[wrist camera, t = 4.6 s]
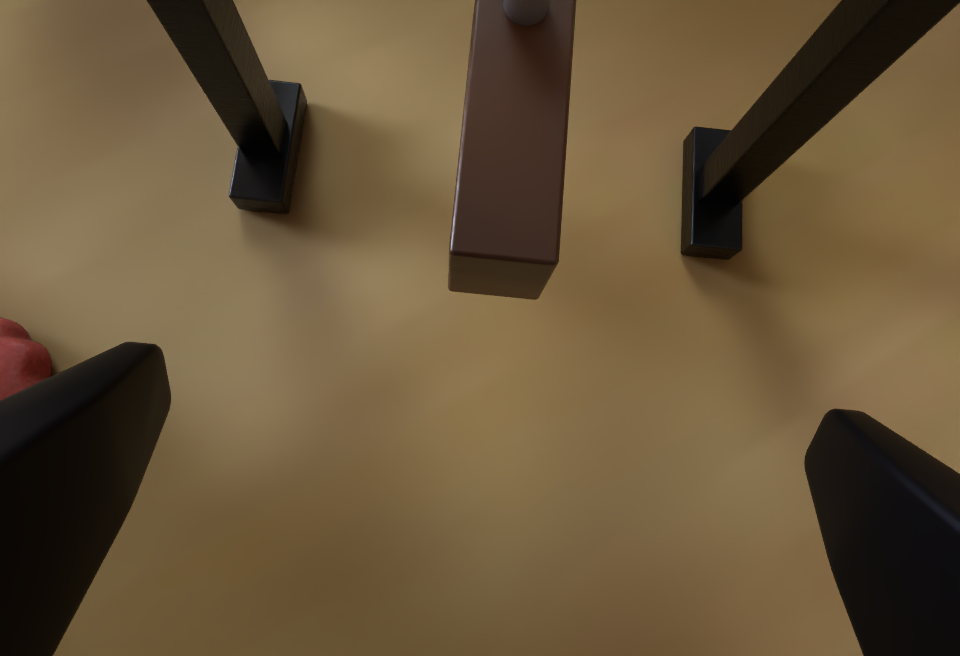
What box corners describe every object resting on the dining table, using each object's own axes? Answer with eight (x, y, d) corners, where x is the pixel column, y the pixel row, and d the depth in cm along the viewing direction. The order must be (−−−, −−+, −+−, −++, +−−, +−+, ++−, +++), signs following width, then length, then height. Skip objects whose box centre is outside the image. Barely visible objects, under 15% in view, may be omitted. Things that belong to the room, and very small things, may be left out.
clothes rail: (729, 260, 21) (1249, -125, 8) (237, 209, 21) (-163, -304, 7) (730, 146, 22) (1198, -387, 8) (258, 94, 22) (-63, -564, 8)
